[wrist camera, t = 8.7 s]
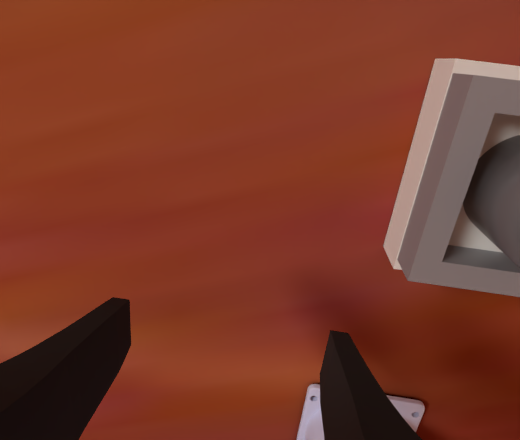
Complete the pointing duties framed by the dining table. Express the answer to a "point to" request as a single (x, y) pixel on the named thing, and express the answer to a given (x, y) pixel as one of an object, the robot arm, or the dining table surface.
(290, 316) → the dining table surface
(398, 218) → the grey square tray
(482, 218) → the gray domed cylinder
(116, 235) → the dining table surface
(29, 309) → the dining table surface
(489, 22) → the dining table surface
